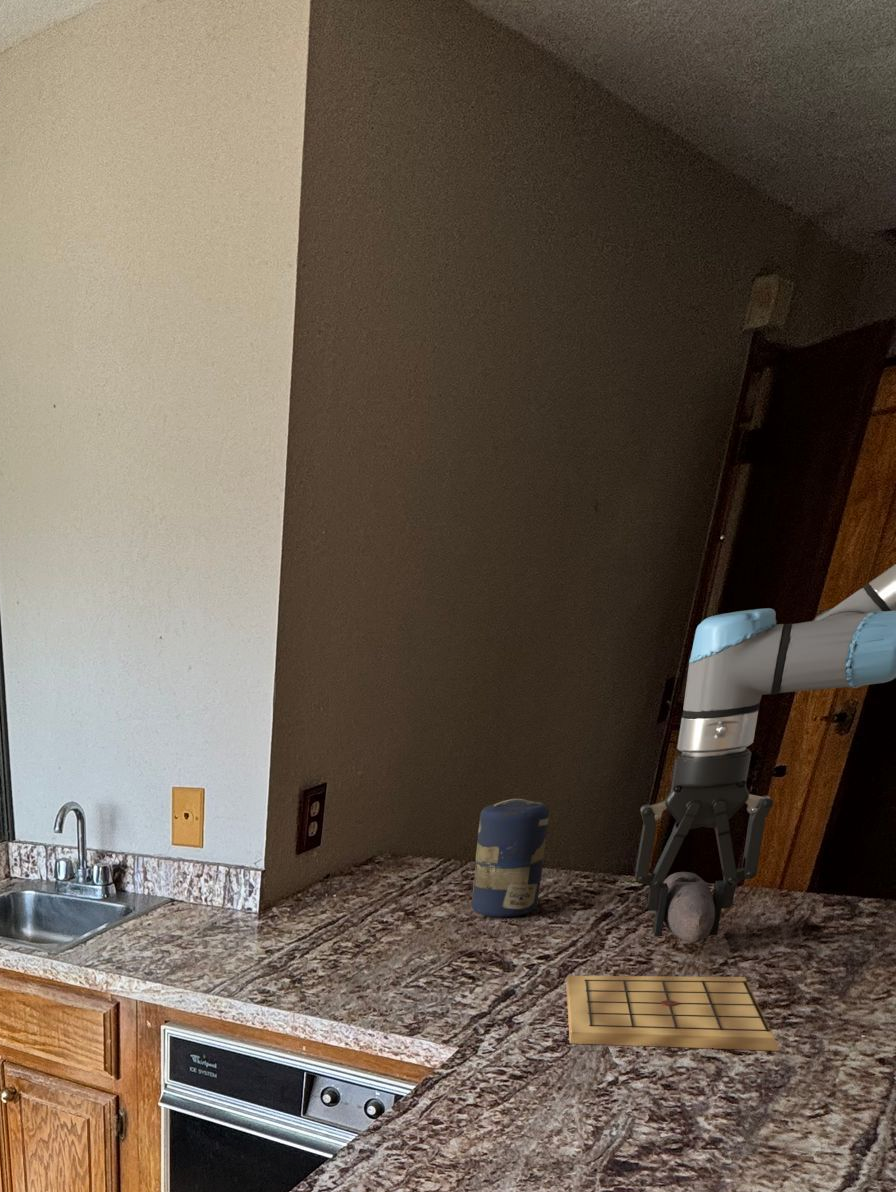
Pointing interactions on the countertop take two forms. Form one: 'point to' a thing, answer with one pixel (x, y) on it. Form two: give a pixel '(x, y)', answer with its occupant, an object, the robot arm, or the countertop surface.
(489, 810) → the canister
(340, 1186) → the countertop surface
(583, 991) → the board
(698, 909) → the perforated stone tool
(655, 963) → the countertop surface
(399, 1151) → the countertop surface
